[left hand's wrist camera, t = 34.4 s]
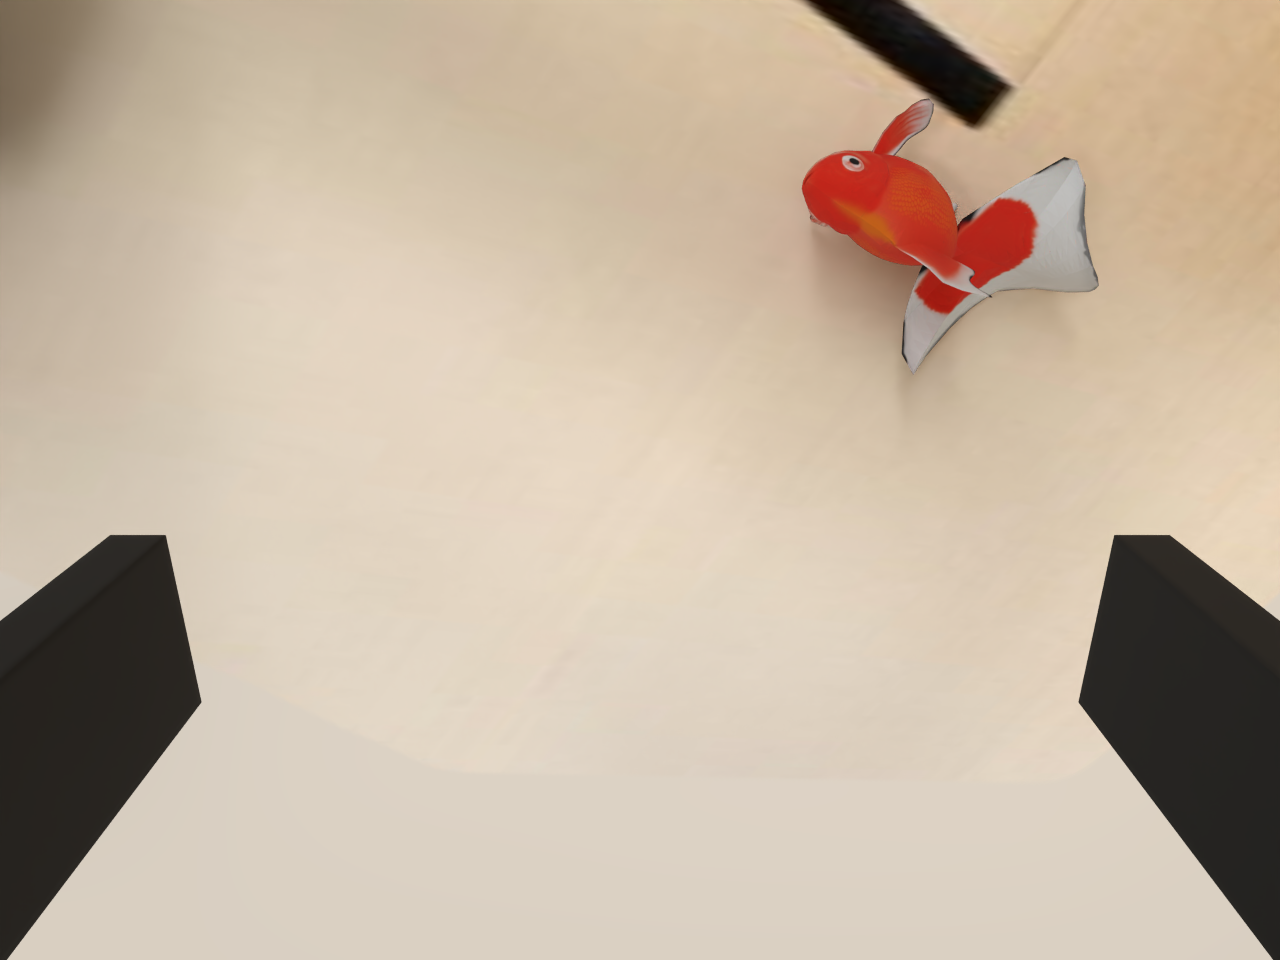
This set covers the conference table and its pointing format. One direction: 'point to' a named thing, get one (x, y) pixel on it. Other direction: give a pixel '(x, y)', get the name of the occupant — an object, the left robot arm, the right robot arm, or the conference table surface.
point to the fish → (952, 229)
